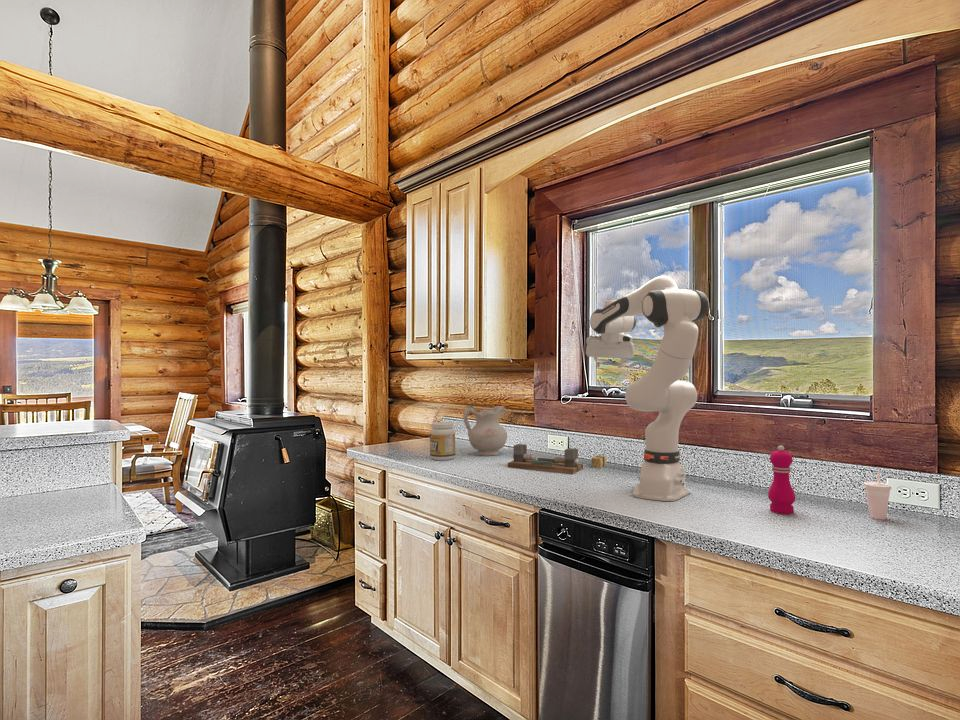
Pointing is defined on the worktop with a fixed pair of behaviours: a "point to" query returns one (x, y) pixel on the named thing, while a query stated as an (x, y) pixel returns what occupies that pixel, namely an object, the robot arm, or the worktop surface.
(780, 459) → the pepper mill
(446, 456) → the supplement tub
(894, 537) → the worktop surface
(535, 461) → the shaft stand
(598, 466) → the coupling
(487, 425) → the ceramic pitcher
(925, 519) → the worktop surface
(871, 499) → the smoothie
